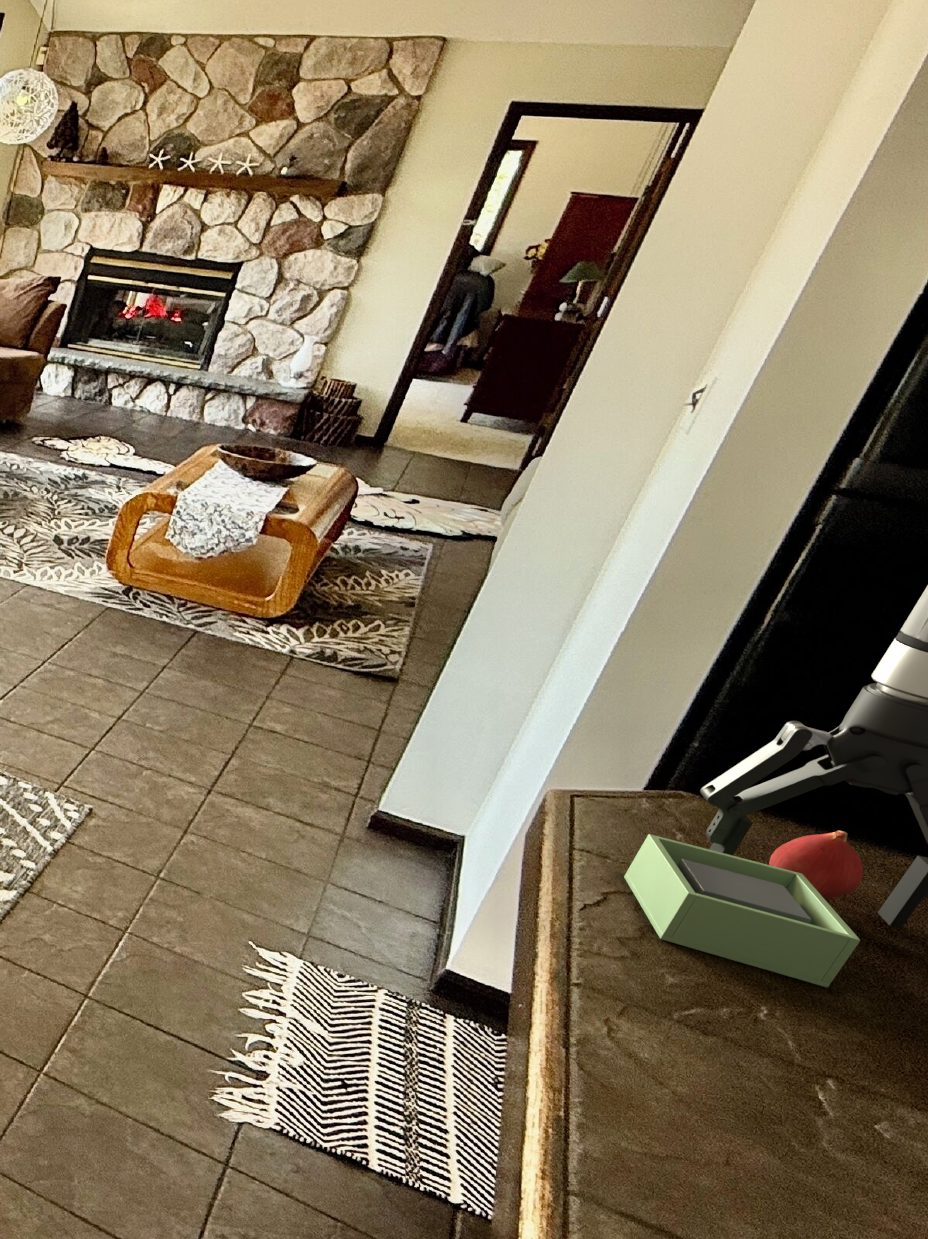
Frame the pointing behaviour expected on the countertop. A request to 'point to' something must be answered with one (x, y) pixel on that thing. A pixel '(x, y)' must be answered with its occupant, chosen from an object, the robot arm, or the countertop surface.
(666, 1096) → the countertop surface
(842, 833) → the onion
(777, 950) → the crate
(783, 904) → the block
